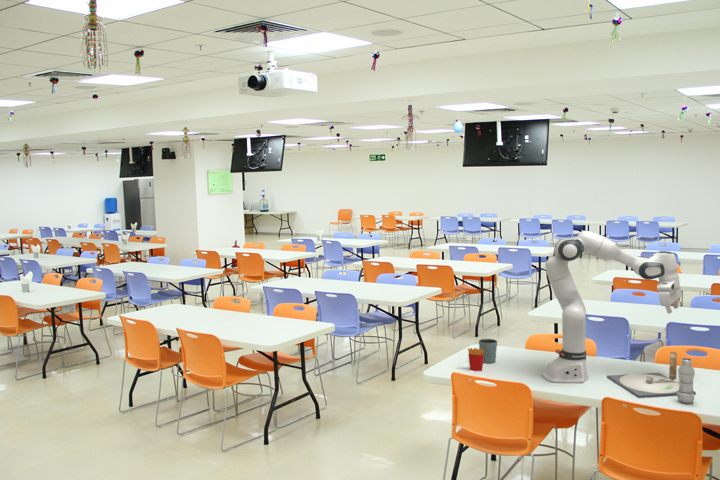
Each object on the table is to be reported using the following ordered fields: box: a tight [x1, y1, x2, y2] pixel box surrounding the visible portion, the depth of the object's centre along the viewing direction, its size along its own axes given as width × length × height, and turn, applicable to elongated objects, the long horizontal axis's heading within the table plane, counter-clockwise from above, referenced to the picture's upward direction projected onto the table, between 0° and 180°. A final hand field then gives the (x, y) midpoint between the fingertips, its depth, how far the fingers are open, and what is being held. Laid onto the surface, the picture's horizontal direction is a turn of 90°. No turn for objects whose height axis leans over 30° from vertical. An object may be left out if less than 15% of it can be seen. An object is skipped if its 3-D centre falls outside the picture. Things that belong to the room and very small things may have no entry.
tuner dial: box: [606, 372, 697, 399], centre depth 278 cm, size 28×28×2 cm
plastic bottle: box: [676, 357, 695, 404], centre depth 256 cm, size 6×7×20 cm
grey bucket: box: [478, 338, 498, 365], centre depth 322 cm, size 10×10×12 cm
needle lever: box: [646, 351, 678, 383], centre depth 278 cm, size 15×3×14 cm, turn 95°
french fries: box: [467, 347, 484, 372], centre depth 308 cm, size 8×4×12 cm, turn 69°
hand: (672, 310), depth 281 cm, fingers open, 8 cm apart
